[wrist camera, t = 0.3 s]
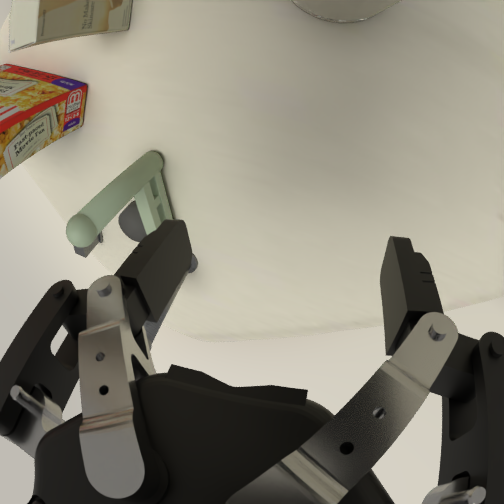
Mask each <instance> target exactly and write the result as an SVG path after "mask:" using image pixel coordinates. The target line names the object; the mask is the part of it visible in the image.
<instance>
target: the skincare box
mask: <svg viewBox="0 0 504 504" xmlns="http://www.w3.org/2000/svg"><path fill="white" fill-rule="evenodd" d="M131 4H132V0H12V6H11V13H10V20H9V53H10V52H13V51H16V50H20V49H23V48H27V47H31V46H35V45H39V44H43V43H47V42H52V41H57V40H62V39H68V38H74V37H80V36H87V35H94V34H103V33H111V32H118V31H124V30H128V28H129V20H130V13H131Z"/></svg>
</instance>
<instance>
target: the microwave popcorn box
mask: <svg viewBox="0 0 504 504" xmlns="http://www.w3.org/2000/svg"><path fill="white" fill-rule="evenodd" d="M86 91H87V85H86V84H85V83H81V82H78V81H75V80H71V79H68V78H64V77H60V76H56V75H53V74H49V73H45V72H41V71H36V70H32V69H28V68H23V67H19V66H14V65H9V64H4V65H1V66H0V179H1V178H2V177H3V176H4V175H6V174H7V173H8V172H10V171H11V170H12V169H14V168H15V167H16V166H18V165H19V164H21V163H22V162H23V161H25V160H26V159H28V158H29V157H31V156H32V155H34V154H35V153H37V152H38V151H40V150H41V149H43V148H45V147H46V146H48V145H49V144H51V143H53V142H54V141H56V140H58V139H59V138H61V137H63V136H65V135H67V134H68V133H70V132H72V131H74V130H76V129H78V128H79V127H81V126H82V122H83V113H84V105H85V98H86Z"/></svg>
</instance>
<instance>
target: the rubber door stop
mask: <svg viewBox="0 0 504 504" xmlns="http://www.w3.org/2000/svg"><path fill="white" fill-rule="evenodd" d="M119 225H120V227H121V229H122V231H123V232H124V233H125V234H126V235H127V236H128V237H129V238H130V239H132V240H134V241H137V242H141V240H142V239H143V238H144V237H145V236H147V234H146V231H145V228H144V225H143V222H142V219H141V216H140V213H139V210H138V207H137V204H136V201H133V202H131V203H130V204H129V205H128V206H127V207H126V208H125V210H124V211H123V212H122V213H121V214H120V216H119Z"/></svg>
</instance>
